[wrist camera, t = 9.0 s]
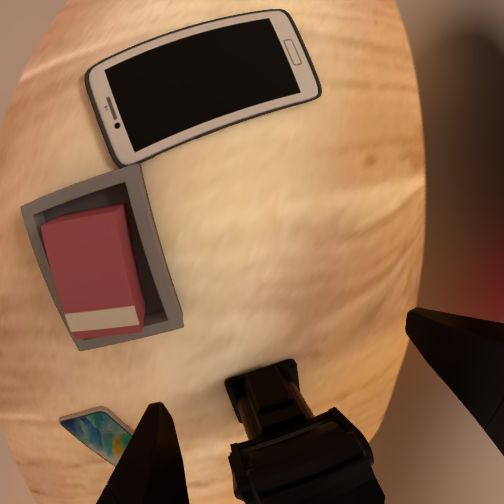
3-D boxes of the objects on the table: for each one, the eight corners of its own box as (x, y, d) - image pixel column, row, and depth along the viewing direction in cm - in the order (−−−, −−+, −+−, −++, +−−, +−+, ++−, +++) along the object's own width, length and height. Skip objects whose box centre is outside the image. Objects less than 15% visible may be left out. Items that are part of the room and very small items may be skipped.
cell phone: (320, 99, 18) (326, 97, 17) (120, 173, 16) (117, 174, 15) (283, 12, 15) (287, 6, 14) (84, 74, 13) (80, 70, 12)
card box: (62, 214, 15) (39, 226, 12) (126, 202, 16) (114, 211, 13) (87, 311, 17) (74, 340, 14) (145, 304, 18) (141, 333, 15)
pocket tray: (182, 311, 20) (183, 327, 18) (85, 335, 18) (79, 351, 16) (140, 163, 16) (135, 163, 14) (34, 201, 15) (20, 206, 13)
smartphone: (139, 482, 25) (55, 421, 19) (139, 477, 26) (57, 415, 20) (185, 473, 26) (103, 408, 20) (184, 468, 27) (105, 402, 21)
